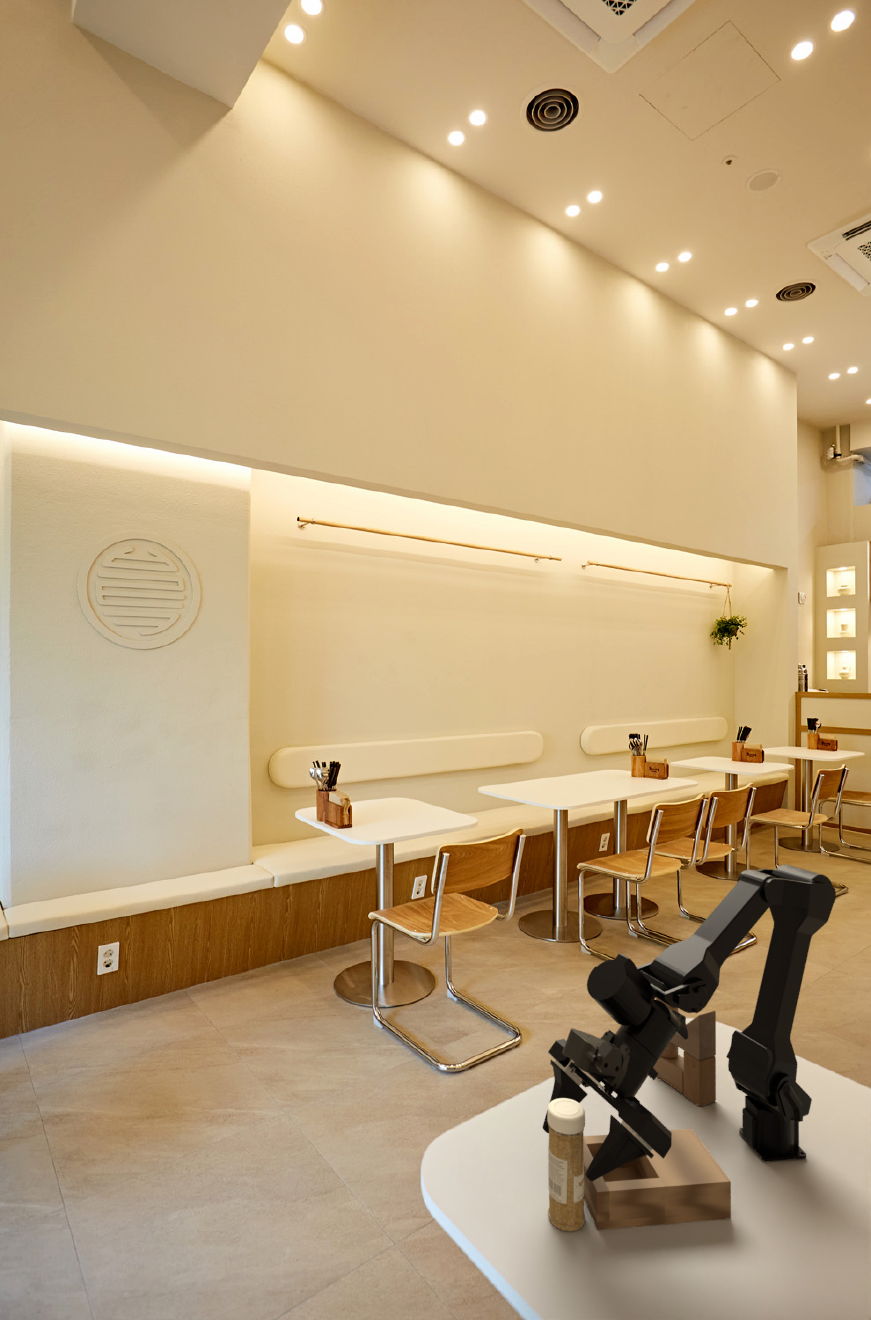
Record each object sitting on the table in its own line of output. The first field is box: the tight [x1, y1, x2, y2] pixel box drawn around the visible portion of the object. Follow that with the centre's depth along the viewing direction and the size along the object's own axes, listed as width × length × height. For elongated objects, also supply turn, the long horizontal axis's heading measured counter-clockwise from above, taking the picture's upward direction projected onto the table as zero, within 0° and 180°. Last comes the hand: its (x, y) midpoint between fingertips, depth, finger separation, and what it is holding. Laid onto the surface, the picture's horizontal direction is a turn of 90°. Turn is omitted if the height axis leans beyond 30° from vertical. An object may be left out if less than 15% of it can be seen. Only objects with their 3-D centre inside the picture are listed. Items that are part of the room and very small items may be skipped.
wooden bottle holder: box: [583, 1128, 732, 1231], centre depth 89 cm, size 17×10×4 cm, turn 96°
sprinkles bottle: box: [547, 1098, 586, 1232], centre depth 85 cm, size 5×5×14 cm
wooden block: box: [653, 997, 717, 1107], centre depth 113 cm, size 4×11×18 cm, turn 26°
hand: (565, 1153), depth 85 cm, fingers open, 9 cm apart
